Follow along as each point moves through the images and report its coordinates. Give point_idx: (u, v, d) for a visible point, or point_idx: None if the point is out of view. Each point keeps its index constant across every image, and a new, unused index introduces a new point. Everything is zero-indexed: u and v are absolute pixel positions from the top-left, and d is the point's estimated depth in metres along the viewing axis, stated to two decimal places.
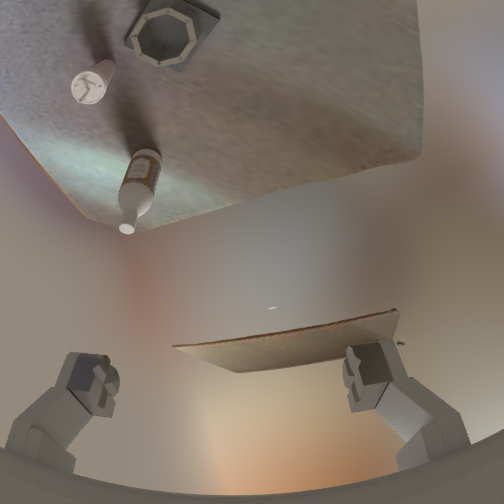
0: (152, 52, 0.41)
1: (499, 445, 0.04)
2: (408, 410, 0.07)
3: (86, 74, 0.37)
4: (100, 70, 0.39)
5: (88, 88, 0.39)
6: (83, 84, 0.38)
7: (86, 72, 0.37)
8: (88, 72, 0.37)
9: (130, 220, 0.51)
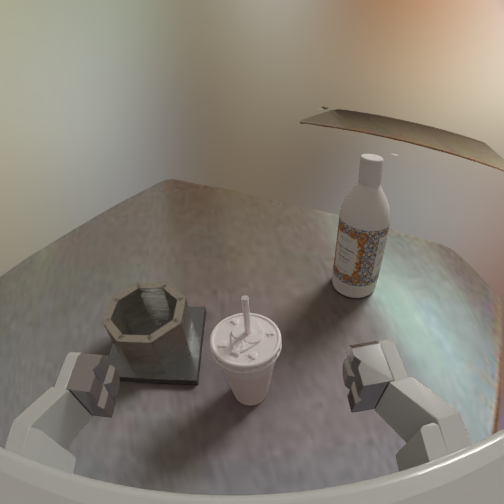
0: None
1: (499, 445, 0.04)
2: (408, 410, 0.07)
3: (220, 348, 0.26)
4: None
5: (243, 334, 0.27)
6: (239, 344, 0.26)
7: (214, 350, 0.26)
8: (214, 347, 0.26)
9: (361, 163, 0.35)
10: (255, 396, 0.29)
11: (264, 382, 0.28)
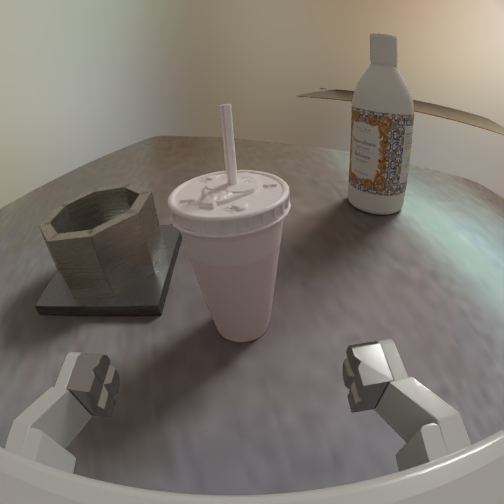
0: None
1: (499, 445, 0.04)
2: (408, 410, 0.07)
3: (183, 204, 0.15)
4: None
5: (225, 184, 0.16)
6: (216, 194, 0.15)
7: (173, 206, 0.15)
8: (173, 203, 0.15)
9: (371, 41, 0.24)
10: (249, 318, 0.18)
11: (263, 282, 0.17)
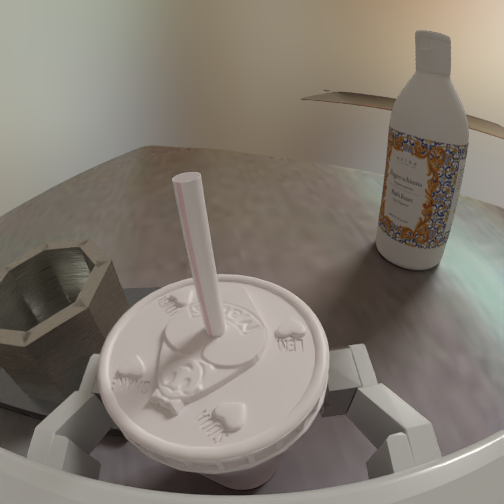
0: None
1: (499, 445, 0.04)
2: (377, 417, 0.07)
3: (122, 381, 0.07)
4: None
5: (202, 335, 0.08)
6: (181, 370, 0.07)
7: (106, 386, 0.07)
8: (106, 374, 0.07)
9: (418, 40, 0.16)
10: (250, 484, 0.10)
11: (272, 465, 0.09)
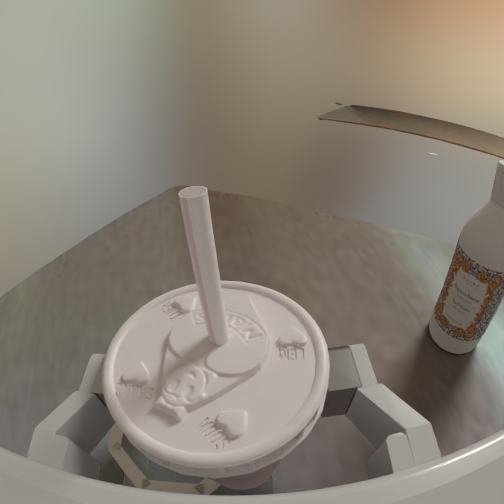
0: None
1: (499, 445, 0.04)
2: (376, 418, 0.07)
3: (127, 387, 0.07)
4: None
5: (205, 343, 0.08)
6: (185, 377, 0.07)
7: (111, 392, 0.07)
8: (111, 380, 0.07)
9: (501, 174, 0.19)
10: (249, 484, 0.10)
11: (270, 467, 0.09)
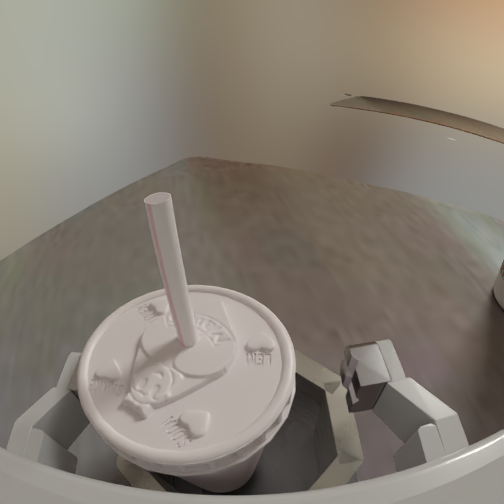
0: (324, 447, 0.12)
1: (499, 445, 0.04)
2: (406, 411, 0.07)
3: (99, 383, 0.07)
4: None
5: (175, 344, 0.08)
6: (153, 377, 0.07)
7: (84, 387, 0.07)
8: (85, 375, 0.07)
9: None
10: (224, 487, 0.10)
11: (242, 471, 0.09)
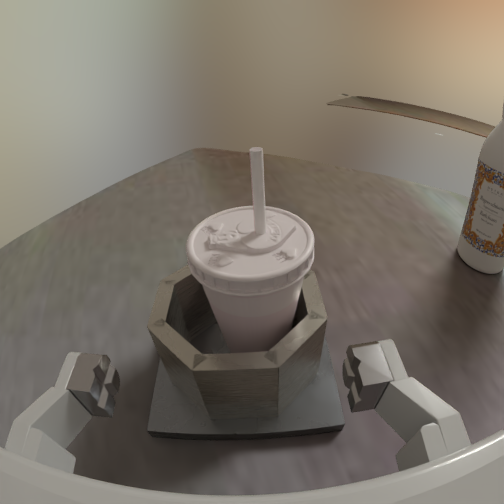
0: None
1: (499, 445, 0.04)
2: (408, 410, 0.07)
3: (207, 229, 0.16)
4: None
5: (252, 230, 0.15)
6: (229, 235, 0.15)
7: (199, 227, 0.16)
8: (204, 223, 0.17)
9: None
10: None
11: (244, 335, 0.16)
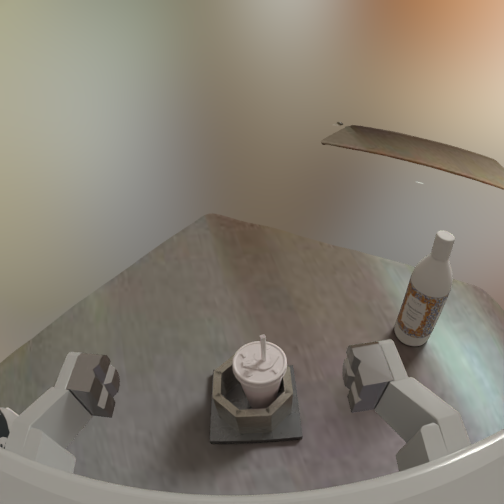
0: (283, 392, 0.38)
1: (499, 445, 0.04)
2: (408, 410, 0.07)
3: (240, 355, 0.35)
4: None
5: (260, 358, 0.35)
6: (250, 361, 0.34)
7: (236, 354, 0.35)
8: (238, 352, 0.36)
9: (436, 241, 0.38)
10: (252, 403, 0.37)
11: (256, 397, 0.35)
